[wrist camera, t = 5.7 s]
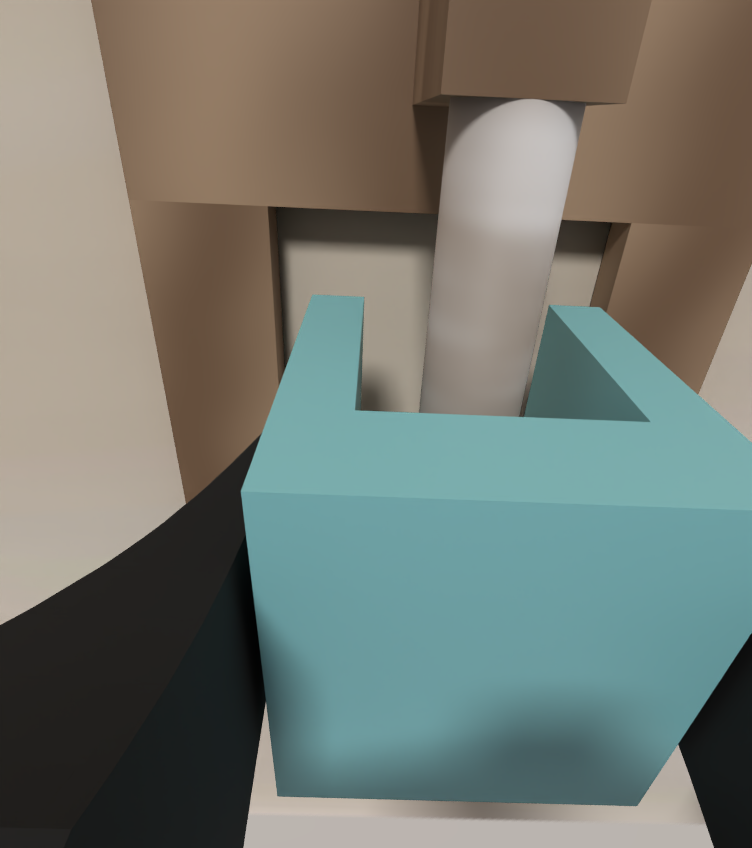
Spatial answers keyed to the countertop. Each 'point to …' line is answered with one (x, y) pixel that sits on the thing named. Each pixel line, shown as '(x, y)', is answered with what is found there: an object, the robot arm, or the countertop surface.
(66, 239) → the countertop surface
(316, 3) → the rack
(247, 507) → the teal notched block
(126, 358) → the countertop surface
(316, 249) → the countertop surface
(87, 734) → the robot arm
